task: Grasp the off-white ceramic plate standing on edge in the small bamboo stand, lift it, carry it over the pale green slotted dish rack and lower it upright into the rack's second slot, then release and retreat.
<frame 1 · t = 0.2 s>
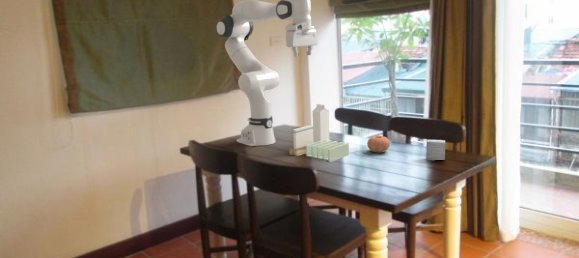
hand: (302, 55, 226), 47 cm above the table, fingers open, 8 cm apart
milk: (321, 147, 243), on the table
rack: (327, 156, 224), on the table
medicine box: (435, 160, 213), on the table
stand: (304, 153, 231), on the table
orange rounded piece: (378, 152, 230), on the table
plate: (304, 151, 231), point 1 cm above the table, touching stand
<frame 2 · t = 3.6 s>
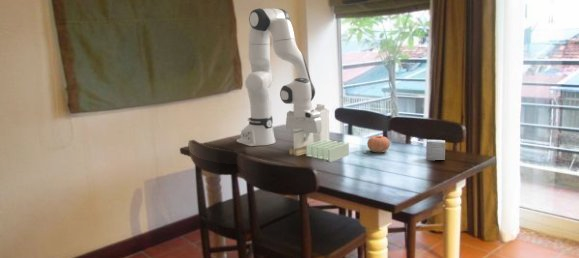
hand: (303, 140, 230), 7 cm above the table, fingers closed on plate, 2 cm apart
plate: (303, 151, 231), point 1 cm above the table, touching gripper, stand
everything else where it was.
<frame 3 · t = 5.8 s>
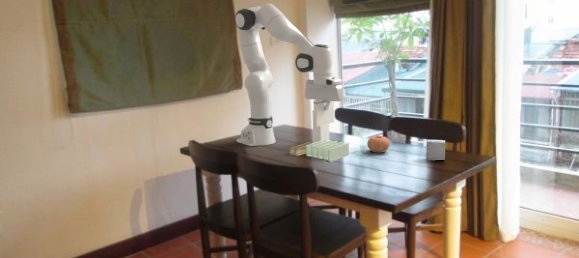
hand: (323, 109, 221), 22 cm above the table, fingers closed on plate
plate: (324, 124, 222), point 16 cm above the table, touching gripper
everything else where it was.
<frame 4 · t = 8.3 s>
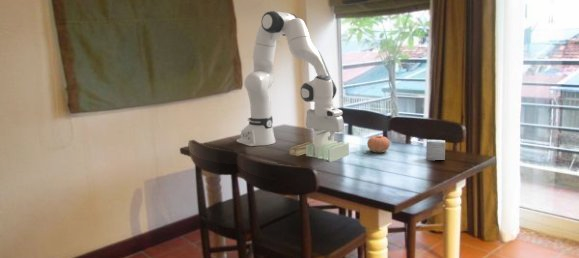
hand: (324, 139, 224), 8 cm above the table, fingers open, 5 cm apart
plate: (324, 153, 225), point 1 cm above the table, touching rack
everything else where it was.
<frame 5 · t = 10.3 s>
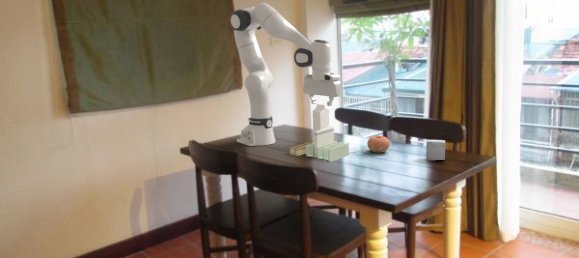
hand: (321, 104, 222), 24 cm above the table, fingers open, 8 cm apart
nothing on the table moved.
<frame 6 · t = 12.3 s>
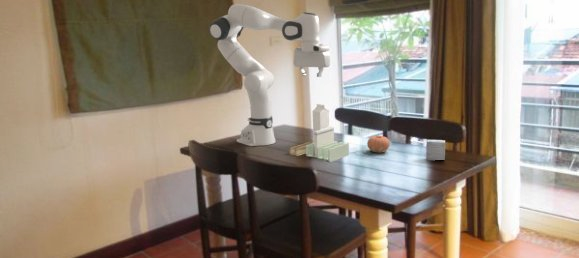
hand: (311, 76, 227), 37 cm above the table, fingers open, 8 cm apart
nothing on the table moved.
at the end: plate 0.2 cm from the target spot on the rack, point 1.0 cm above the rack's base; plate tilted 0°; the gripper is holding nothing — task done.
